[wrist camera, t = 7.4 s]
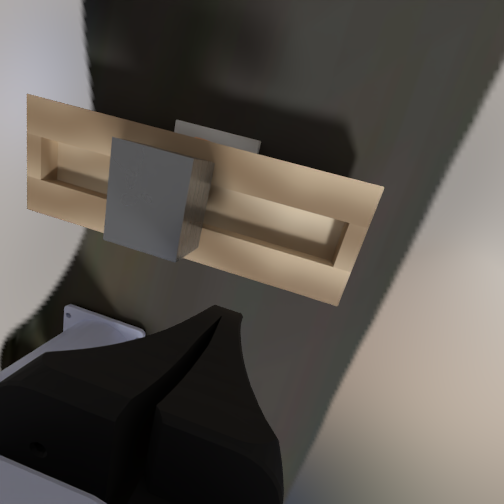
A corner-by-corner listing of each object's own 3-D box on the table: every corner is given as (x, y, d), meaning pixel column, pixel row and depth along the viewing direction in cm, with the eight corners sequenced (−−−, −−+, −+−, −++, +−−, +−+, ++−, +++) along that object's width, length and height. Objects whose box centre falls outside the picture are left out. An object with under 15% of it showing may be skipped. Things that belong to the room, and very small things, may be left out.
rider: (204, 243, 17) (175, 262, 13) (147, 226, 18) (103, 239, 14) (221, 164, 16) (193, 158, 12) (158, 147, 16) (112, 136, 12)
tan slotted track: (325, 291, 20) (331, 320, 16) (78, 215, 22) (27, 223, 18) (371, 170, 17) (392, 167, 13) (85, 96, 20) (26, 74, 15)
